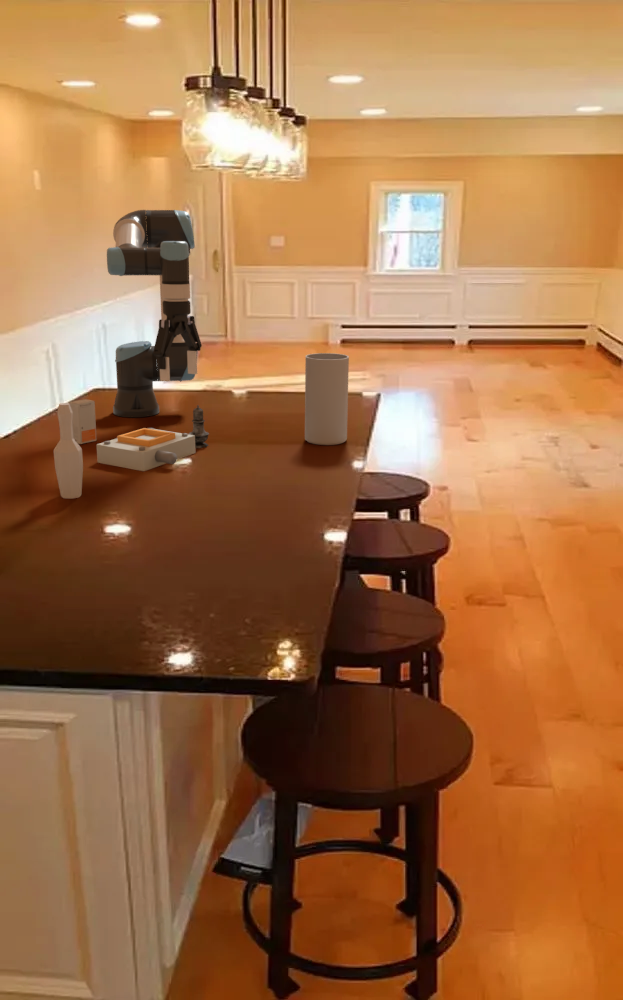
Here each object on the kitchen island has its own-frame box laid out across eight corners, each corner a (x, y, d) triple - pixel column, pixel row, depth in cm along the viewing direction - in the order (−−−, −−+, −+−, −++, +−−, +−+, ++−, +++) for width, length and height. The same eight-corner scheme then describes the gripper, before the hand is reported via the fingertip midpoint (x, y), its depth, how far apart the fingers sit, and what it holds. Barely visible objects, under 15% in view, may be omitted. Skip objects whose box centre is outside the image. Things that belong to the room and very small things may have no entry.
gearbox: (150, 445, 253) (149, 423, 251) (210, 455, 243) (209, 432, 241) (97, 462, 235) (96, 438, 233) (159, 474, 225) (158, 449, 223)
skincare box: (81, 444, 252) (78, 403, 249) (71, 442, 255) (68, 401, 251) (97, 440, 257) (95, 400, 253) (88, 438, 259) (85, 398, 256)
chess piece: (205, 448, 250) (204, 407, 246) (186, 447, 251) (184, 406, 247) (211, 443, 255) (210, 403, 251) (192, 442, 256) (191, 402, 252)
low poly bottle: (57, 500, 203) (49, 407, 196) (57, 492, 209) (49, 401, 202) (85, 498, 205) (78, 406, 198) (84, 490, 211) (78, 400, 204)
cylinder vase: (300, 444, 256) (300, 358, 248) (310, 434, 268) (311, 352, 260) (342, 447, 253) (344, 360, 245) (350, 437, 265) (352, 354, 257)
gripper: (190, 296, 251) (192, 370, 258) (137, 302, 230) (141, 382, 236) (212, 297, 248) (214, 372, 255) (161, 303, 227) (164, 385, 233)
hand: (179, 377), depth 246 cm, fingers open, 13 cm apart
